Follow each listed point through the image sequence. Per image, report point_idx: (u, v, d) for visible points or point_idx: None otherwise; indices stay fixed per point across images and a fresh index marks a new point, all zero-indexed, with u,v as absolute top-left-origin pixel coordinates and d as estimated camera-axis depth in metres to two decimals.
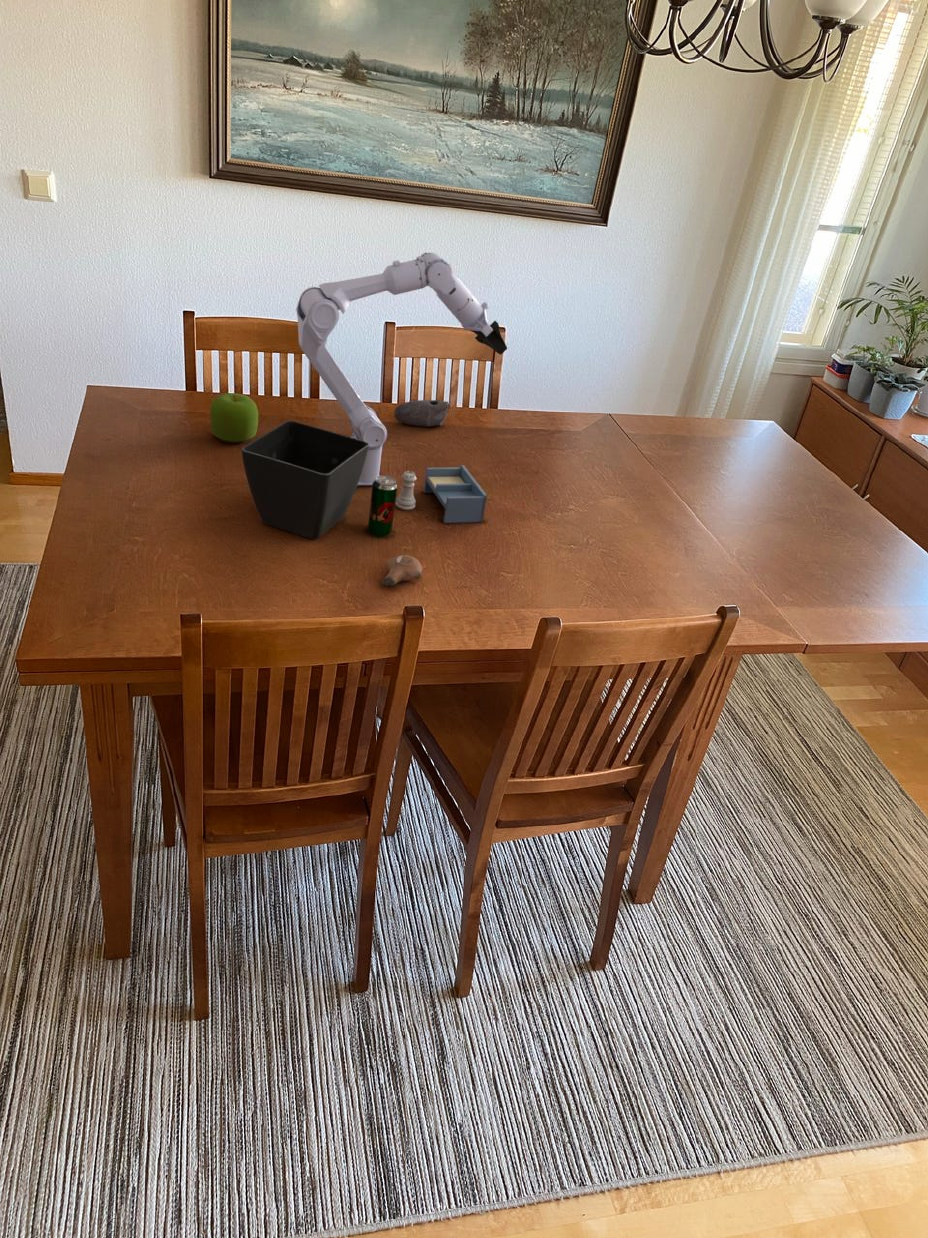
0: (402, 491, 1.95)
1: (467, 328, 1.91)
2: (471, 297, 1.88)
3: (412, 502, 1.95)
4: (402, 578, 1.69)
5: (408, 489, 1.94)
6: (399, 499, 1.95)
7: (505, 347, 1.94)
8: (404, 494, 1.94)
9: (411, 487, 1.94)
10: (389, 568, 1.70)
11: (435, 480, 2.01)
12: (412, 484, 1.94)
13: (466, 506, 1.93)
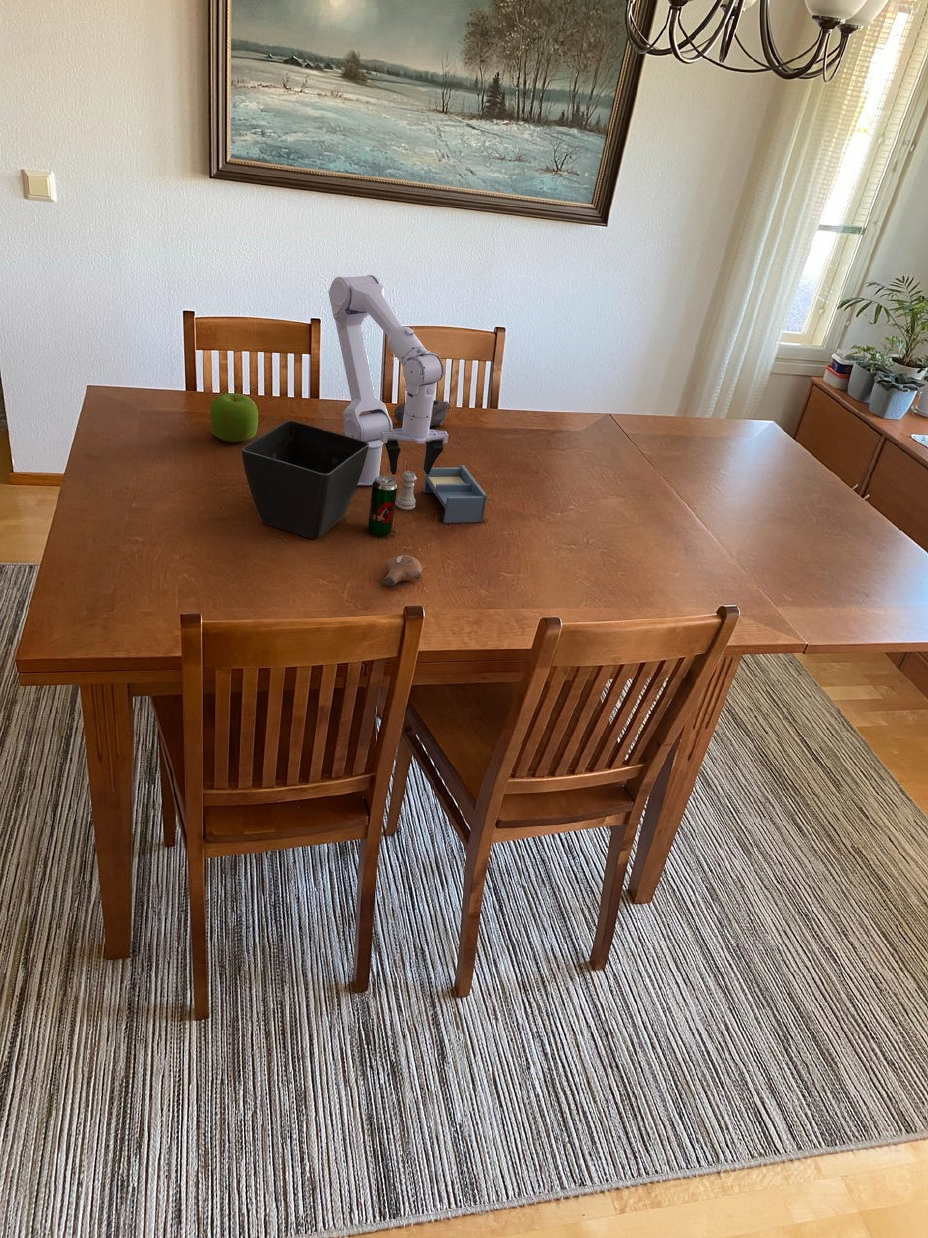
0: (402, 491, 1.95)
1: None
2: (412, 418, 1.83)
3: (412, 502, 1.95)
4: (402, 578, 1.69)
5: (408, 489, 1.94)
6: (399, 499, 1.95)
7: (392, 471, 1.90)
8: (404, 494, 1.94)
9: (411, 487, 1.94)
10: (389, 568, 1.70)
11: (435, 480, 2.01)
12: (412, 484, 1.94)
13: (466, 506, 1.93)
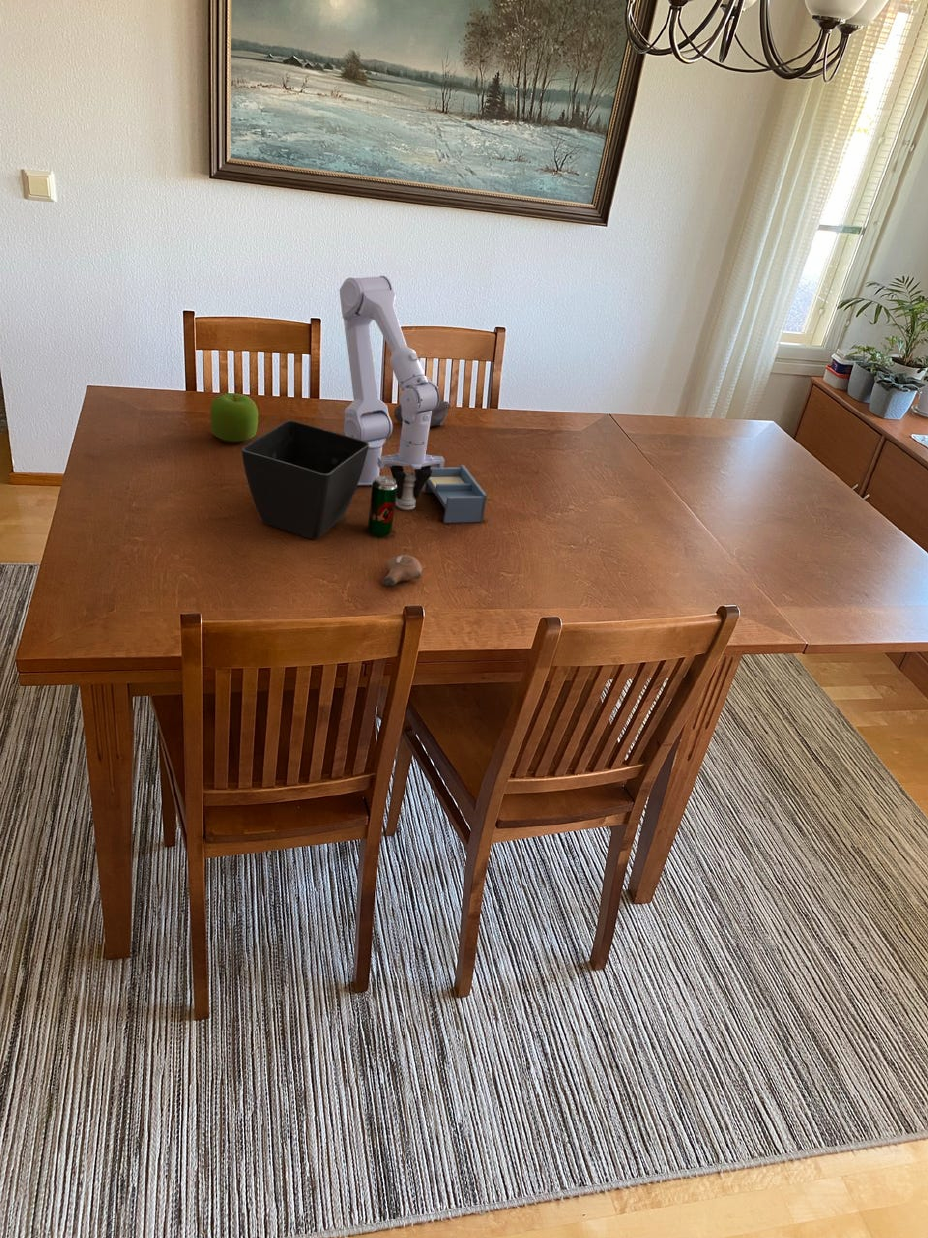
0: (402, 491, 1.95)
1: None
2: (409, 444, 1.86)
3: (412, 502, 1.95)
4: (402, 578, 1.69)
5: (408, 489, 1.94)
6: (399, 499, 1.95)
7: (397, 496, 1.94)
8: (404, 494, 1.94)
9: (411, 487, 1.94)
10: (389, 568, 1.70)
11: (435, 480, 2.01)
12: (412, 484, 1.94)
13: (466, 506, 1.93)
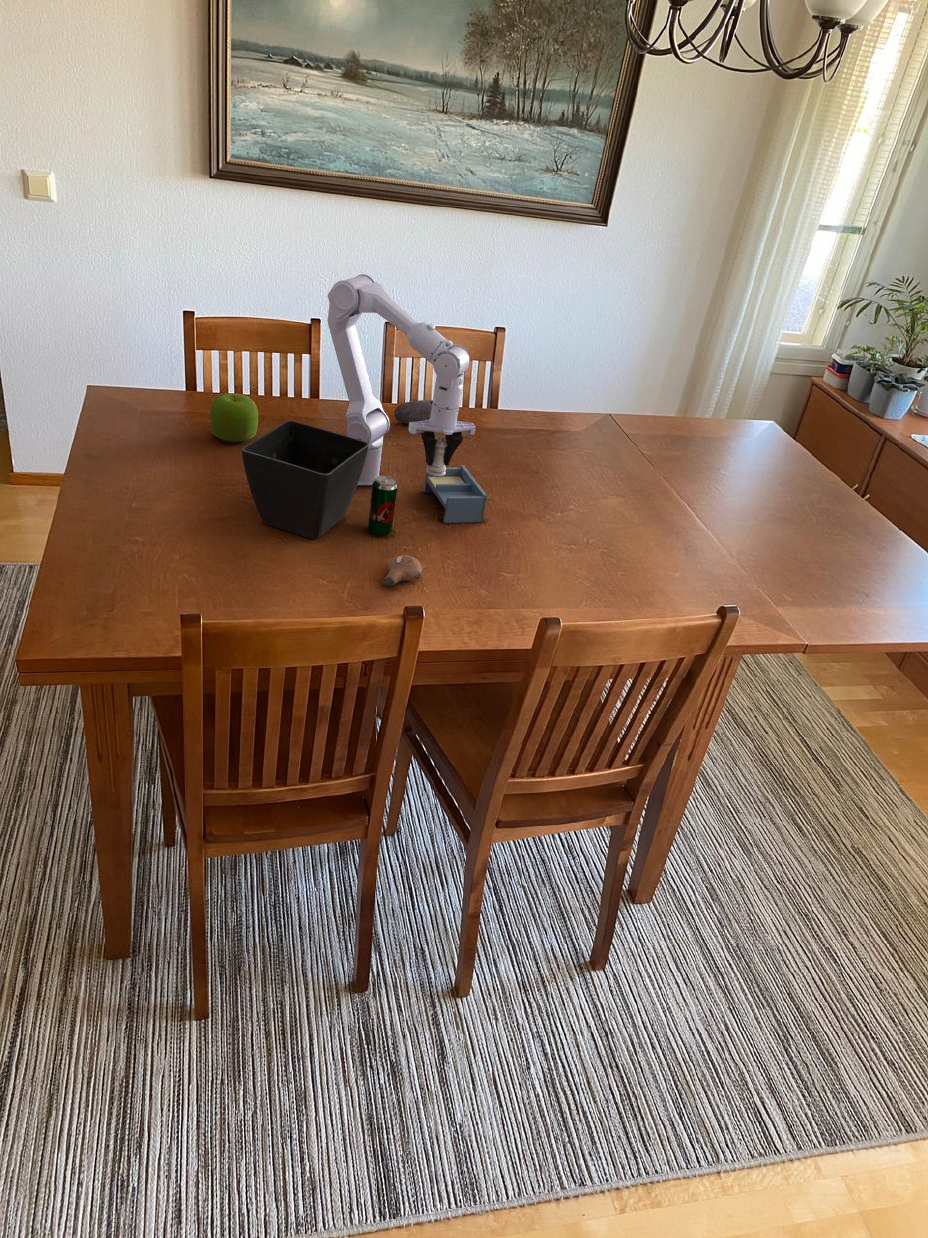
0: (433, 458, 1.95)
1: None
2: (441, 409, 1.86)
3: (442, 469, 1.95)
4: (402, 578, 1.69)
5: (439, 456, 1.94)
6: (430, 466, 1.95)
7: (428, 462, 1.94)
8: (435, 461, 1.94)
9: (442, 454, 1.94)
10: (389, 568, 1.70)
11: (435, 480, 2.01)
12: (443, 451, 1.94)
13: (466, 506, 1.93)
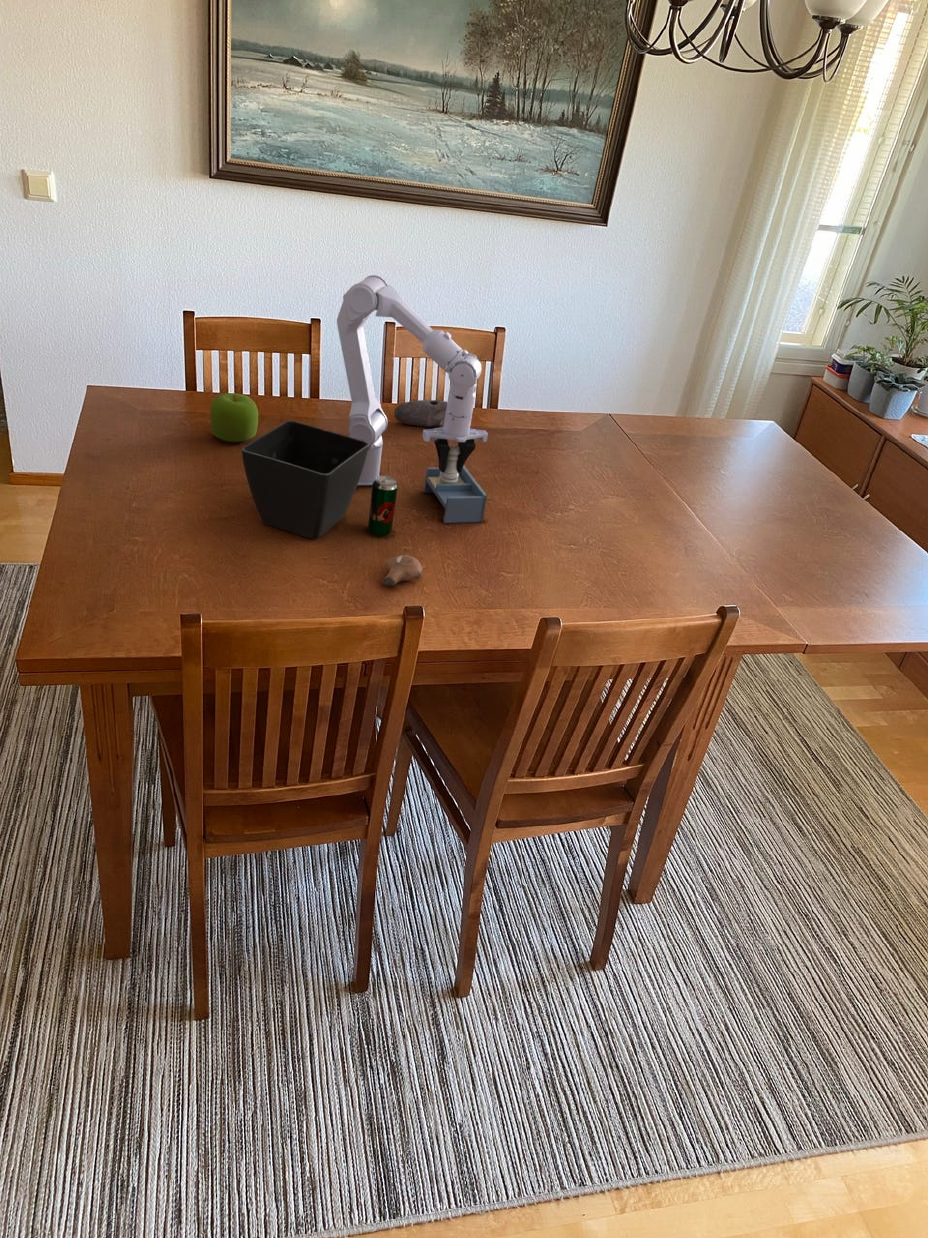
0: (446, 465, 1.98)
1: None
2: (454, 417, 1.90)
3: (455, 475, 1.99)
4: (402, 578, 1.69)
5: (452, 463, 1.97)
6: (443, 472, 1.99)
7: (441, 469, 1.98)
8: (448, 468, 1.98)
9: (455, 461, 1.97)
10: (389, 568, 1.70)
11: (435, 480, 2.01)
12: (456, 458, 1.97)
13: (466, 506, 1.93)
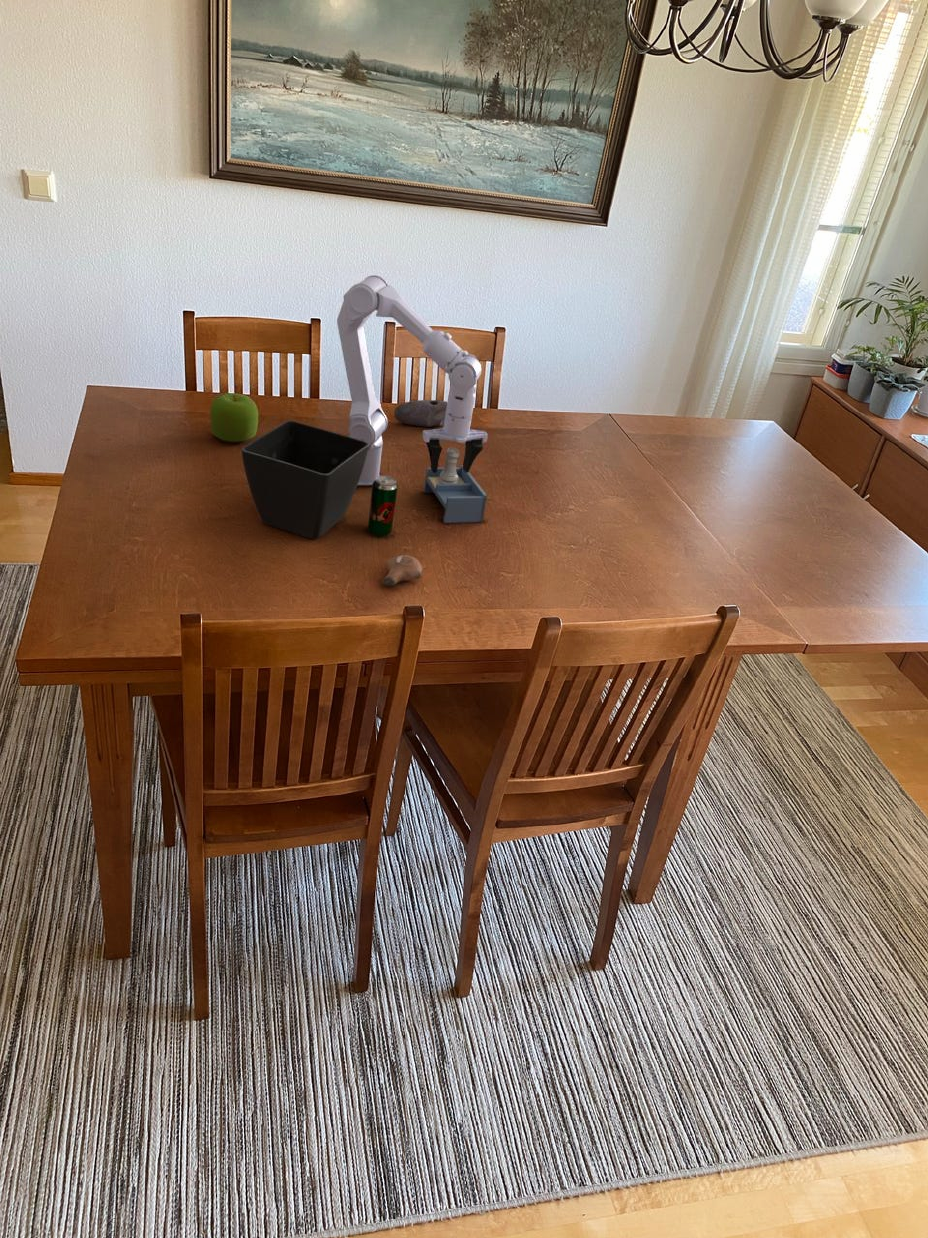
0: (445, 467, 1.98)
1: None
2: (454, 418, 1.90)
3: (455, 478, 1.99)
4: (402, 578, 1.69)
5: (452, 465, 1.98)
6: (442, 475, 1.99)
7: (433, 470, 1.97)
8: (447, 471, 1.98)
9: (454, 463, 1.98)
10: (389, 568, 1.70)
11: (435, 480, 2.01)
12: (455, 460, 1.97)
13: (466, 506, 1.93)
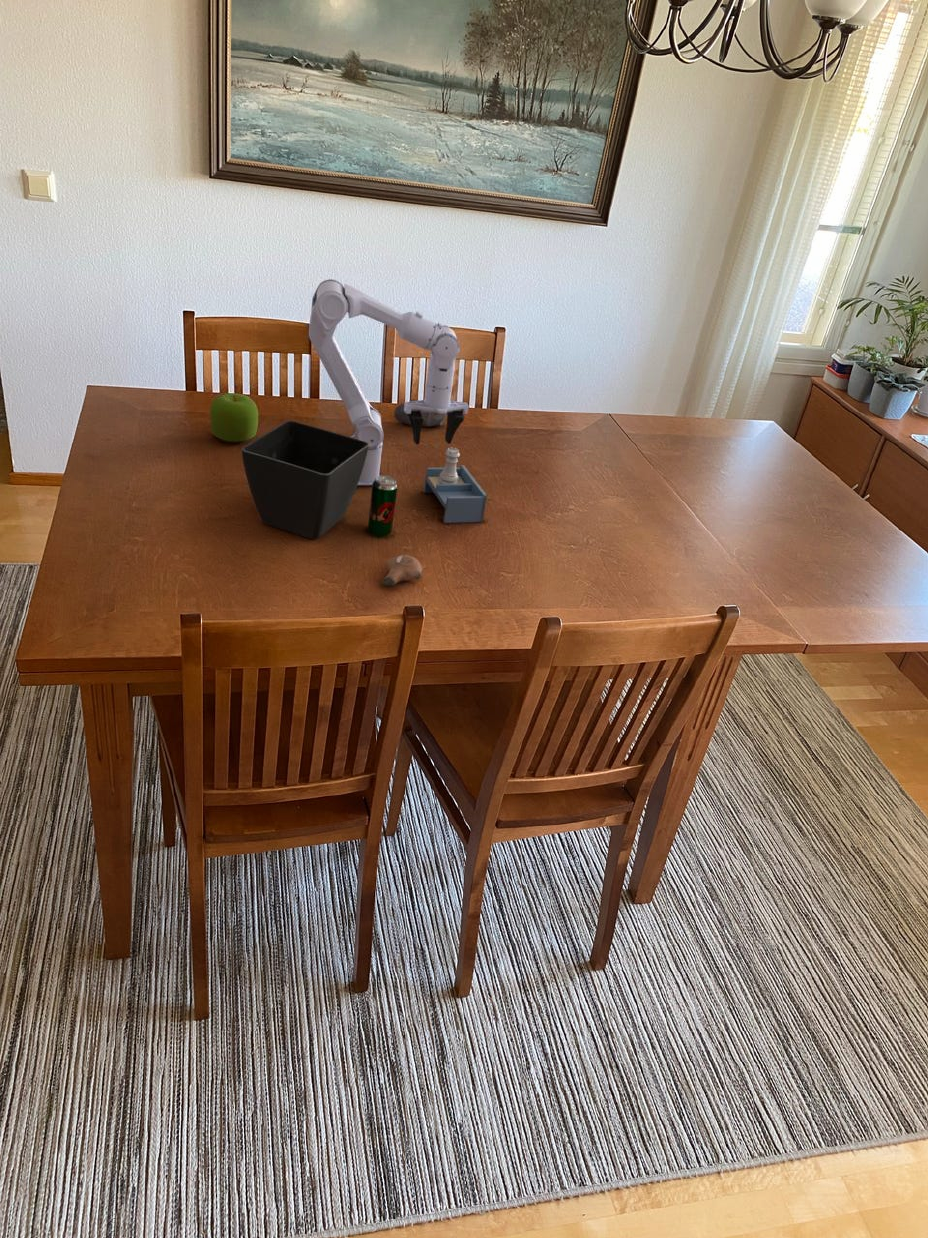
0: (445, 467, 1.98)
1: None
2: (434, 389, 1.93)
3: (455, 478, 1.99)
4: (402, 578, 1.69)
5: (452, 465, 1.98)
6: (442, 475, 1.99)
7: (415, 441, 2.00)
8: (447, 471, 1.98)
9: (454, 463, 1.98)
10: (389, 568, 1.70)
11: (435, 480, 2.01)
12: (455, 460, 1.97)
13: (466, 506, 1.93)
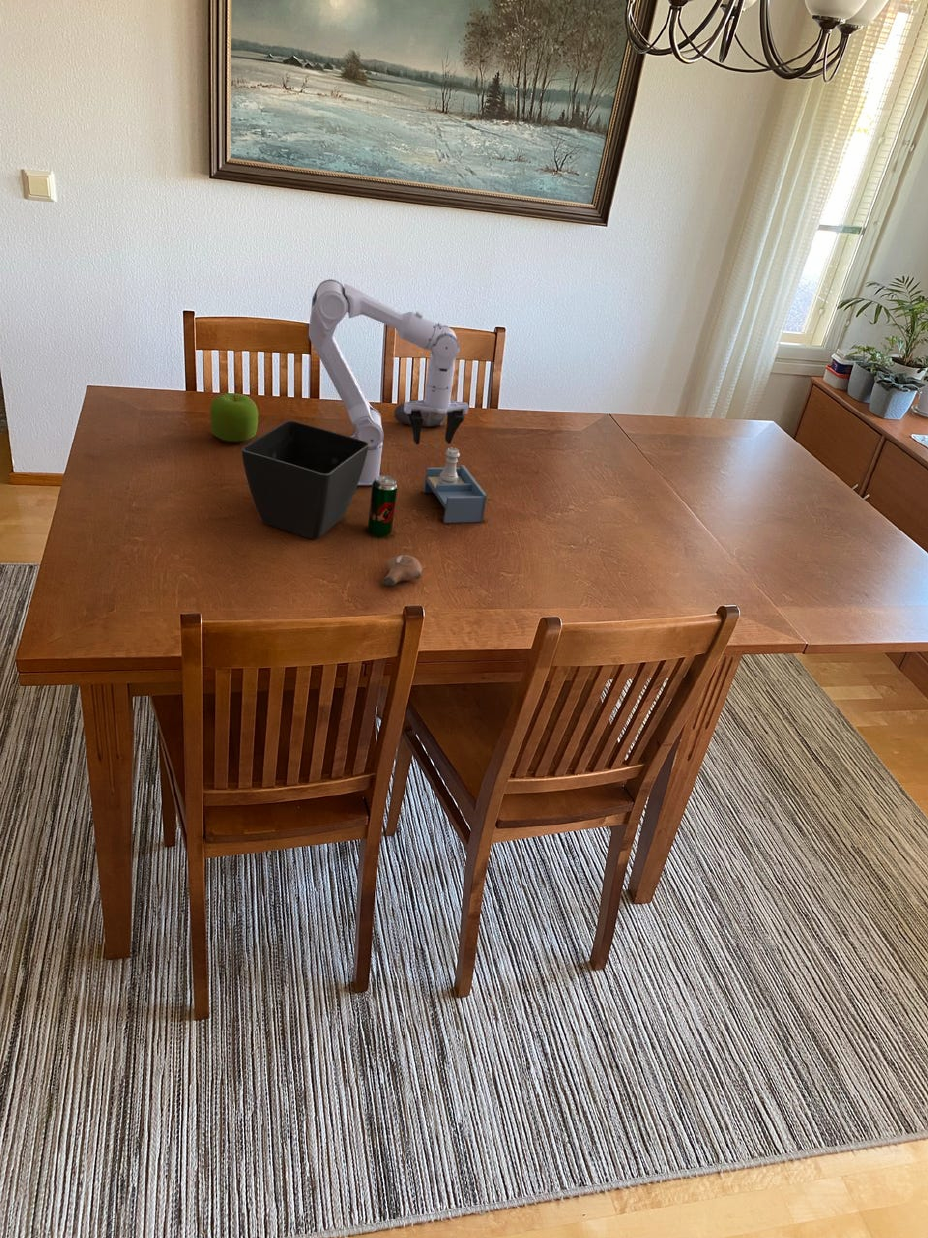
0: (445, 467, 1.98)
1: None
2: (434, 389, 1.93)
3: (455, 478, 1.99)
4: (402, 578, 1.69)
5: (452, 465, 1.98)
6: (442, 475, 1.99)
7: (415, 441, 2.00)
8: (447, 471, 1.98)
9: (454, 463, 1.98)
10: (389, 568, 1.70)
11: (435, 480, 2.01)
12: (455, 460, 1.97)
13: (466, 506, 1.93)
